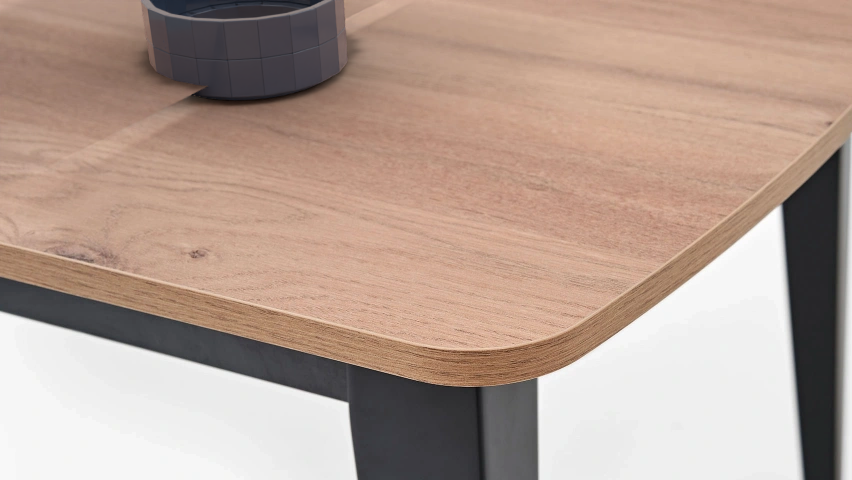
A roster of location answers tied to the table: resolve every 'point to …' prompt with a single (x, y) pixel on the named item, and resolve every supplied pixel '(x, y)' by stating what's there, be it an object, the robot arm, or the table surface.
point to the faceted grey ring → (246, 44)
